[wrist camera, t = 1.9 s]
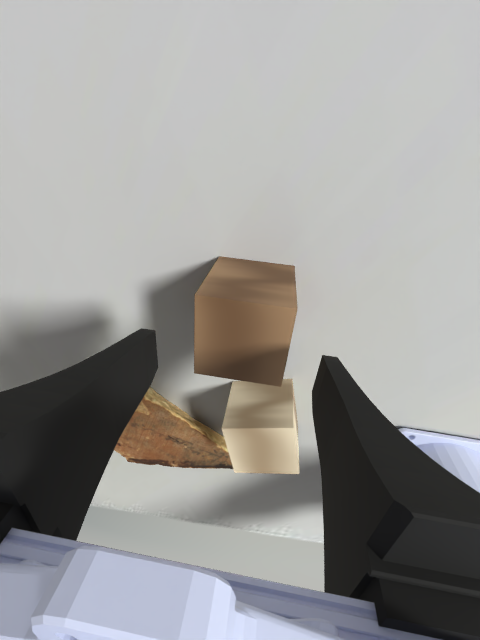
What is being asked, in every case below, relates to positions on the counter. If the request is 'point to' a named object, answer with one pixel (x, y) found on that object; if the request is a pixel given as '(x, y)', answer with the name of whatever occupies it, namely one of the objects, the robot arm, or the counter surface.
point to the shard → (170, 437)
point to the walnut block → (245, 320)
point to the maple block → (262, 428)
